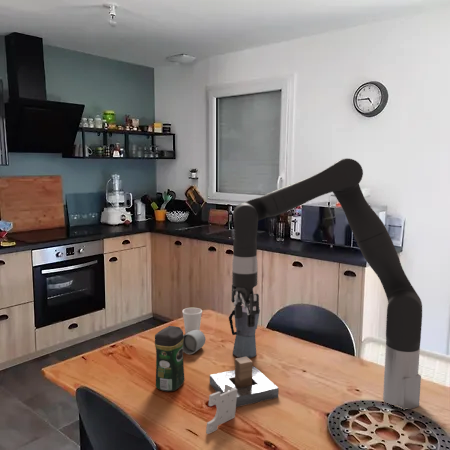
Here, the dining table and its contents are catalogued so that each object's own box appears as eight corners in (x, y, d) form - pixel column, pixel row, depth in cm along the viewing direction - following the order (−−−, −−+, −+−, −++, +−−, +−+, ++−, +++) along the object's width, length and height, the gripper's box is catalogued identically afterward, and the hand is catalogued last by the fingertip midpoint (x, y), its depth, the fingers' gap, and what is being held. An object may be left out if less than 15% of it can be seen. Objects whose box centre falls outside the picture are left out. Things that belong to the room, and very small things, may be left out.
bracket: (222, 415, 126) (225, 380, 126) (234, 421, 124) (237, 385, 123) (195, 427, 118) (199, 390, 117) (208, 434, 115) (211, 396, 115)
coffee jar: (165, 376, 147) (165, 322, 145) (187, 380, 145) (187, 325, 142) (151, 390, 138) (150, 332, 136) (174, 394, 136) (173, 336, 133)
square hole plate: (278, 397, 134) (278, 388, 134) (229, 408, 128) (229, 398, 128) (254, 374, 149) (254, 366, 148) (209, 383, 143) (209, 374, 142)
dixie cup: (194, 339, 180) (194, 315, 178) (178, 334, 184) (177, 311, 183) (206, 332, 186) (206, 309, 185) (190, 328, 191) (190, 306, 190)
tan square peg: (252, 392, 137) (252, 361, 136) (240, 395, 136) (240, 363, 134) (246, 386, 141) (246, 356, 140) (234, 389, 139) (234, 358, 138)
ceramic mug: (207, 348, 171) (206, 328, 170) (197, 356, 163) (197, 336, 162) (182, 344, 175) (182, 325, 174) (172, 351, 168) (171, 332, 167)
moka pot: (267, 351, 167) (268, 300, 165) (240, 365, 156) (240, 309, 154) (247, 345, 174) (248, 295, 171) (220, 357, 163) (220, 304, 160)
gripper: (267, 273, 129) (266, 328, 131) (245, 264, 141) (245, 313, 144) (243, 276, 126) (243, 331, 128) (224, 266, 139) (224, 316, 141)
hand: (244, 322), depth 136 cm, fingers open, 8 cm apart
